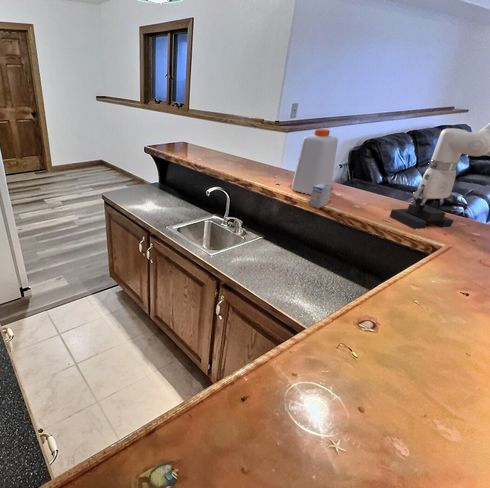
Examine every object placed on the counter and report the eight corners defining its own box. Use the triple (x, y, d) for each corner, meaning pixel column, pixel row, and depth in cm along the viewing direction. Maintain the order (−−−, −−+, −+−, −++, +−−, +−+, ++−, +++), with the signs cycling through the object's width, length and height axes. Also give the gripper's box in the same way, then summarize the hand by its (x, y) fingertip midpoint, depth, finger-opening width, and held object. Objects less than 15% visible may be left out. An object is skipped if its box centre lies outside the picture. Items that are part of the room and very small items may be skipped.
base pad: (421, 214, 139) (424, 207, 138) (450, 227, 128) (453, 220, 127) (389, 216, 137) (391, 209, 136) (415, 229, 126) (418, 222, 124)
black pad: (420, 210, 135) (423, 203, 134) (442, 220, 126) (445, 212, 125) (406, 211, 134) (409, 204, 133) (428, 221, 125) (431, 213, 124)
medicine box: (318, 201, 152) (322, 182, 148) (328, 204, 149) (332, 185, 145) (308, 205, 148) (313, 185, 144) (318, 208, 144) (323, 188, 141)
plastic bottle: (333, 191, 166) (347, 130, 153) (317, 198, 157) (331, 133, 144) (303, 184, 176) (314, 126, 163) (287, 190, 167) (298, 129, 154)
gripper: (430, 169, 117) (412, 218, 125) (473, 167, 120) (453, 216, 128) (412, 163, 124) (396, 211, 132) (454, 162, 126) (436, 209, 134)
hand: (425, 213), depth 130 cm, fingers closed on black pad, 6 cm apart
